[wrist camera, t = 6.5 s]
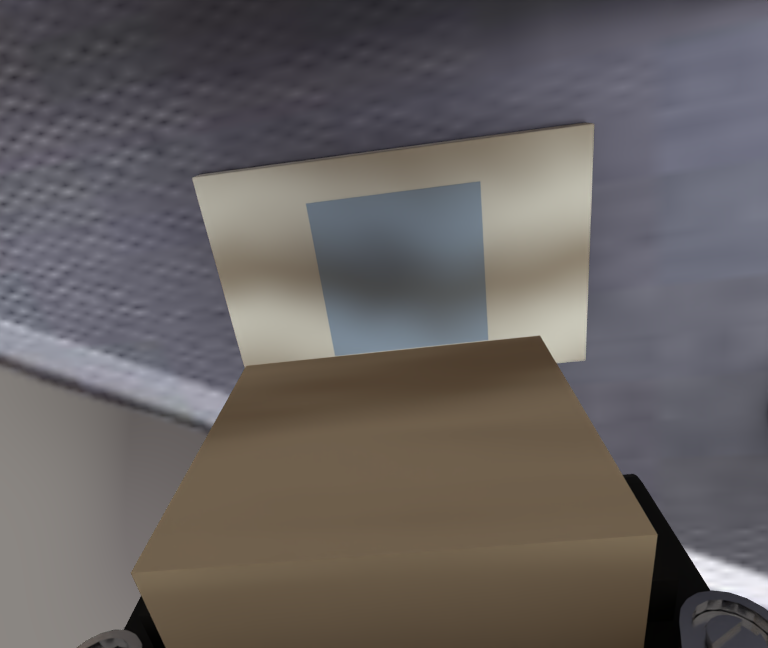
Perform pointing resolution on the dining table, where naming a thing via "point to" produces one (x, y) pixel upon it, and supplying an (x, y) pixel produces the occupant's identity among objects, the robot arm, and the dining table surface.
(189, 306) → the dining table surface
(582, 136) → the board
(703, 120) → the dining table surface
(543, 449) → the oak block
